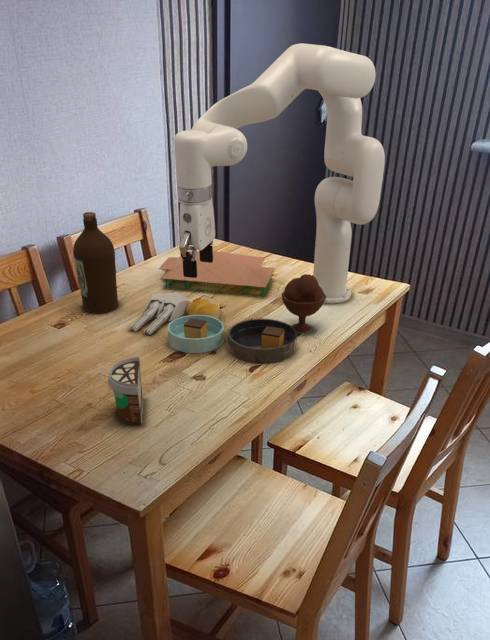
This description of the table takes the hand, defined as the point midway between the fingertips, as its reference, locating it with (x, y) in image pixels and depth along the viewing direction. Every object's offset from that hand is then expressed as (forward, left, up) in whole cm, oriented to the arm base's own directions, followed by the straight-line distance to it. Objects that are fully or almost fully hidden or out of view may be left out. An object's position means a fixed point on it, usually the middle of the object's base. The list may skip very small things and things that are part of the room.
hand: (198, 269), depth 156 cm
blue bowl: (+1, -1, -18) cm, 18 cm away
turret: (-8, -15, -19) cm, 25 cm away
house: (-40, -11, -19) cm, 45 cm away
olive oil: (-10, -34, -19) cm, 40 cm away
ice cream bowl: (-14, +22, -19) cm, 32 cm away
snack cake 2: (-1, +18, -18) cm, 26 cm away
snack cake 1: (+1, -1, -18) cm, 18 cm away
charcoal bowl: (-1, +16, -18) cm, 24 cm away
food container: (+36, -2, -19) cm, 41 cm away
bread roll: (-14, -5, -19) cm, 24 cm away
